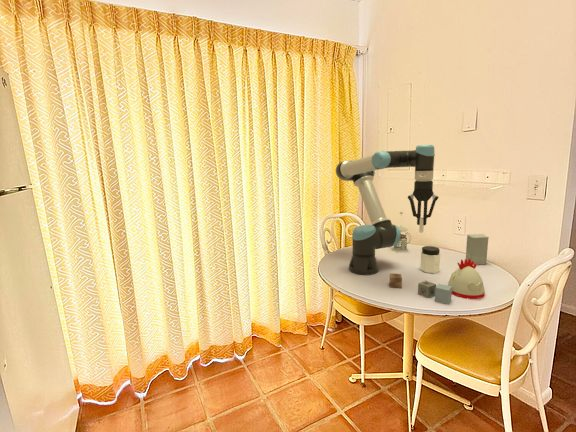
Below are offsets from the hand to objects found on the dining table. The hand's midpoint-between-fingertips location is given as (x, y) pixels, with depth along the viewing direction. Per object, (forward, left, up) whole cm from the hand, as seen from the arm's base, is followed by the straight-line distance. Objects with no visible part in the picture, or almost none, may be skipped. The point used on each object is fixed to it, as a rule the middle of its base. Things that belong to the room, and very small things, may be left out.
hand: (421, 231), depth 138 cm
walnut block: (-9, -9, -25) cm, 28 cm away
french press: (-16, +48, -25) cm, 56 cm away
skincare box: (+24, +40, -25) cm, 53 cm away
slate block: (+11, -16, -25) cm, 31 cm away
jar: (+3, +18, -25) cm, 31 cm away
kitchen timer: (+19, -3, -25) cm, 31 cm away
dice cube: (+5, -13, -25) cm, 28 cm away
